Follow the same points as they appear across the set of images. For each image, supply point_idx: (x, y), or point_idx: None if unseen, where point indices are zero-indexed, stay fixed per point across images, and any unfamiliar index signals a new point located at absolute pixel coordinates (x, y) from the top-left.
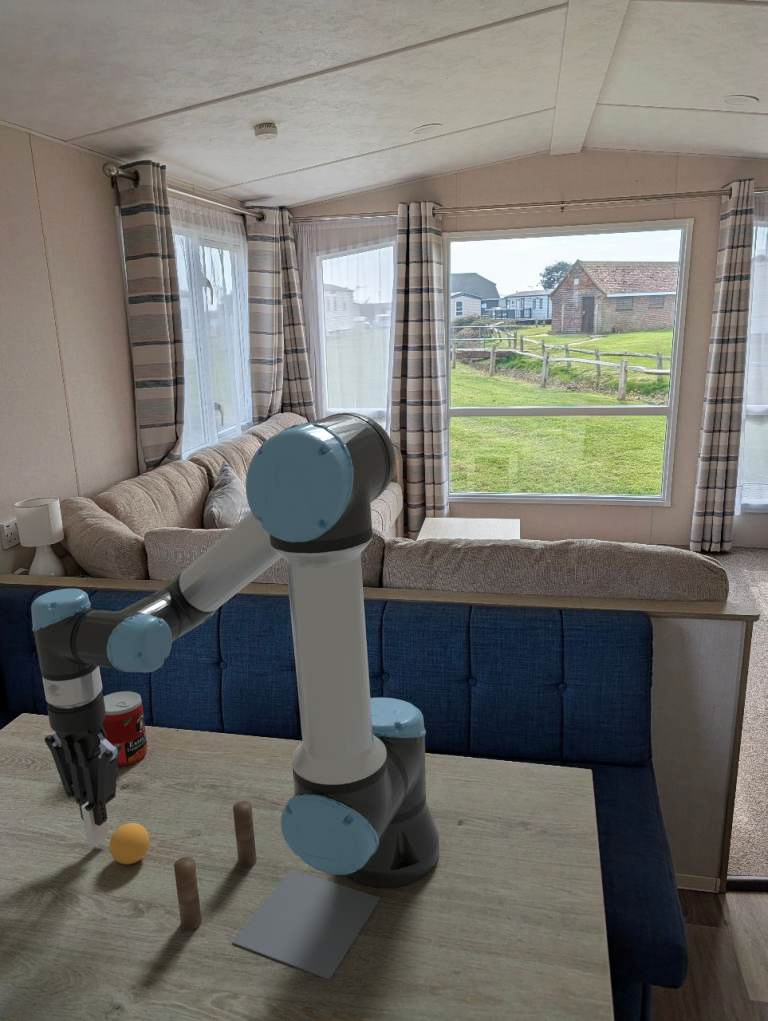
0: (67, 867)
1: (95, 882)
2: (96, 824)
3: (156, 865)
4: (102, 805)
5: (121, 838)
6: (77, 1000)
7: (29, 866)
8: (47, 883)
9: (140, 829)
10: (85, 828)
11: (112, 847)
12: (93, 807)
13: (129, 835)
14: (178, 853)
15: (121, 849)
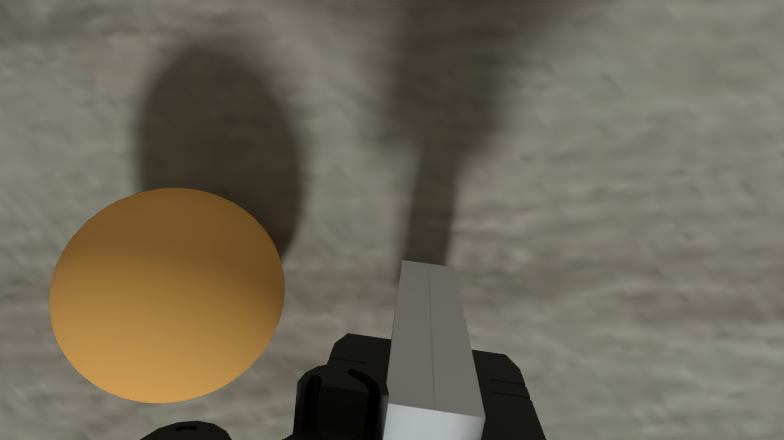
0: (485, 137)
1: (279, 85)
2: (376, 338)
3: None
4: (161, 437)
5: (107, 253)
6: None
7: (695, 89)
8: (511, 7)
9: (66, 356)
10: (456, 308)
11: (190, 212)
12: (300, 410)
13: (66, 285)
14: None
15: (121, 207)
